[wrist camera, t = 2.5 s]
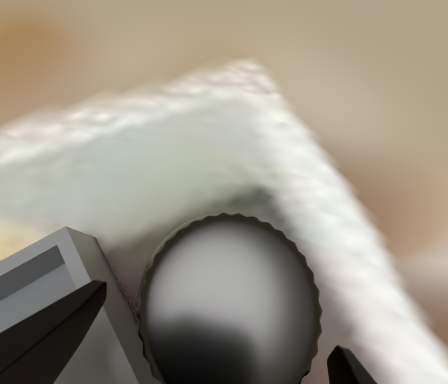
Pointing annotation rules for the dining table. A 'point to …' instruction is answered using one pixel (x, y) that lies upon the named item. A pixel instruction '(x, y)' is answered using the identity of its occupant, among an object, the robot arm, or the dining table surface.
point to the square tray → (63, 285)
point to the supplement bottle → (228, 305)
